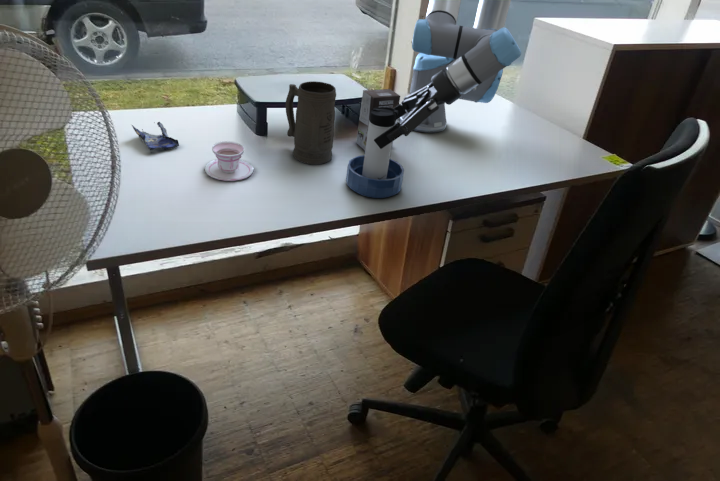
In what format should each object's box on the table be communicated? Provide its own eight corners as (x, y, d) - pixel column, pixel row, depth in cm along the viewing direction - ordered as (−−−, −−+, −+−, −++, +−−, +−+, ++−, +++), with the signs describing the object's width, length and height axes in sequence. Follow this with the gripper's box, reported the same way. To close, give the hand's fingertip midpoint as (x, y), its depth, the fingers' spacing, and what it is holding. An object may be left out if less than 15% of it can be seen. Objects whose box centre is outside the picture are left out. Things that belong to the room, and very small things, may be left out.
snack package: (177, 134, 157) (132, 134, 153) (176, 114, 153) (130, 113, 149) (180, 160, 149) (132, 160, 145) (179, 139, 145) (130, 139, 141)
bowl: (334, 182, 144) (336, 163, 141) (371, 168, 153) (374, 150, 150) (375, 205, 137) (378, 186, 134) (411, 189, 146) (415, 170, 143)
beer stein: (341, 155, 158) (343, 84, 148) (323, 169, 150) (324, 94, 139) (293, 144, 163) (292, 74, 153) (273, 156, 155) (271, 84, 144)
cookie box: (365, 151, 162) (372, 97, 153) (355, 142, 167) (361, 89, 158) (392, 148, 166) (401, 95, 157) (382, 139, 171) (389, 87, 162)
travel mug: (384, 191, 142) (396, 116, 131) (359, 186, 142) (368, 110, 131) (388, 180, 147) (400, 107, 136) (363, 175, 147) (373, 102, 136)
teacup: (201, 161, 145) (200, 139, 142) (247, 158, 150) (247, 137, 146) (209, 183, 136) (208, 160, 133) (258, 179, 141) (258, 157, 137)
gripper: (465, 114, 119) (385, 166, 128) (461, 78, 140) (392, 126, 149) (445, 85, 116) (364, 141, 125) (444, 53, 137) (375, 103, 146)
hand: (379, 133), depth 137 cm, fingers open, 13 cm apart
